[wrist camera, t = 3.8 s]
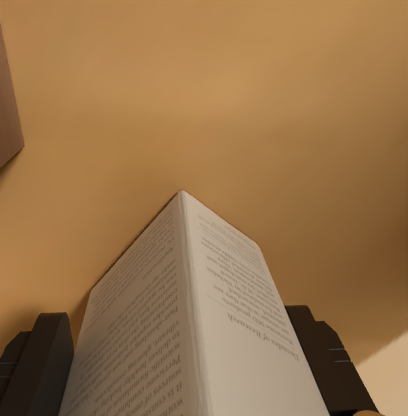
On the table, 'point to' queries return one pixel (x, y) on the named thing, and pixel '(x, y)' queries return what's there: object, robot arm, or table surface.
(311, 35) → the table surface
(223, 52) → the table surface
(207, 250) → the skincare box
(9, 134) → the peg shelf stand
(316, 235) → the table surface
